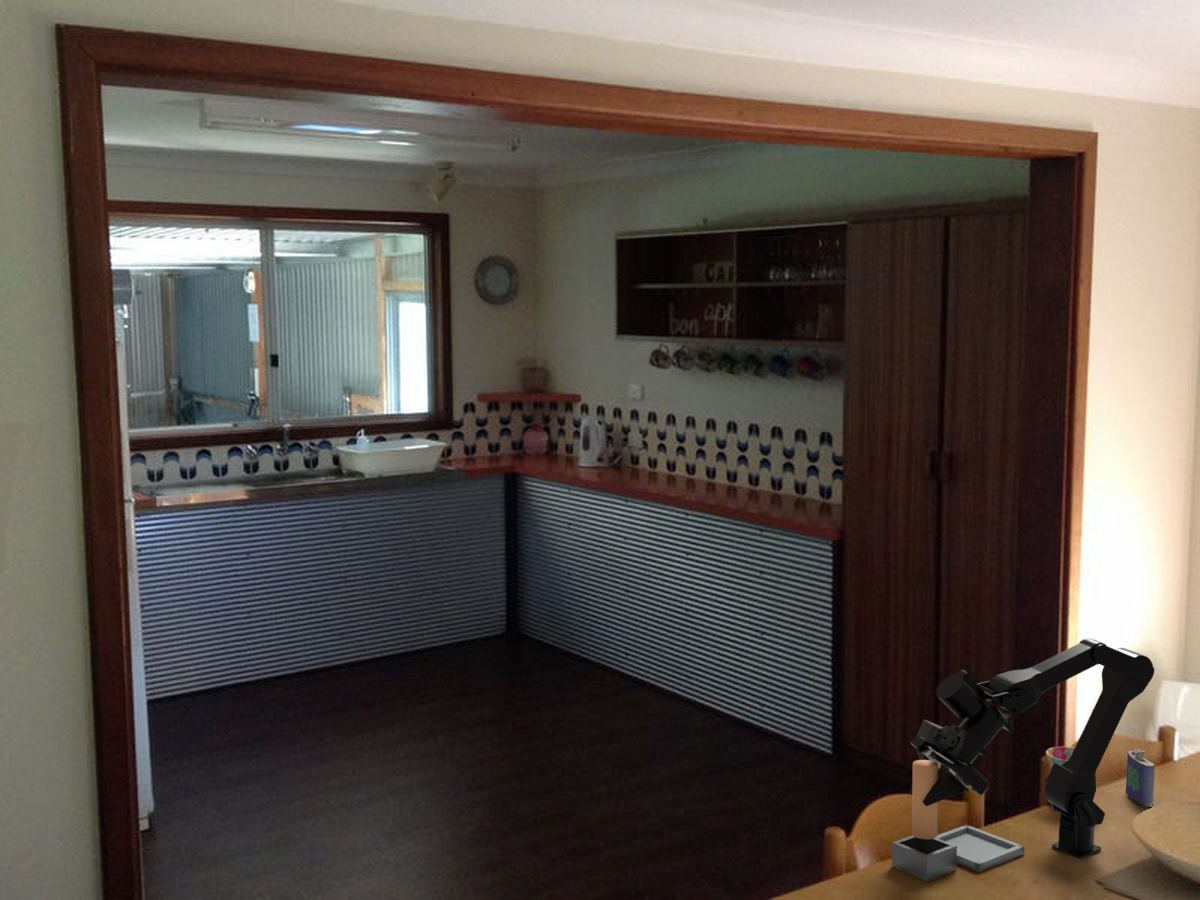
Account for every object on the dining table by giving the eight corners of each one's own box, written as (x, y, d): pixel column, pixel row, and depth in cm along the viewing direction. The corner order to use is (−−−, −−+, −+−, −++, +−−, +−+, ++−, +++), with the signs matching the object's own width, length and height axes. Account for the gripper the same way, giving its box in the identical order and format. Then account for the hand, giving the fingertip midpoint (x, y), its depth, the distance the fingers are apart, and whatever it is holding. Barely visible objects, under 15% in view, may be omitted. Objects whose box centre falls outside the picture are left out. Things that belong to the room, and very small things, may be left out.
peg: (922, 827, 234) (923, 758, 233) (942, 835, 231) (943, 764, 229) (906, 833, 232) (907, 763, 230) (925, 841, 228) (927, 769, 227)
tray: (966, 832, 248) (966, 824, 248) (1024, 854, 238) (1024, 846, 237) (921, 848, 240) (921, 841, 240) (979, 872, 230) (979, 864, 230)
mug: (1071, 816, 256) (1072, 764, 255) (1034, 801, 264) (1035, 751, 263) (1112, 805, 261) (1114, 754, 260) (1075, 790, 269) (1076, 741, 268)
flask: (1155, 808, 259) (1157, 756, 258) (1141, 809, 259) (1143, 757, 258) (1135, 792, 269) (1136, 742, 268) (1121, 792, 268) (1122, 742, 267)
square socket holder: (921, 855, 237) (921, 831, 237) (956, 870, 231) (956, 845, 230) (891, 866, 233) (892, 842, 232) (927, 881, 226) (927, 857, 226)
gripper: (920, 691, 239) (865, 754, 237) (974, 721, 221) (914, 789, 219) (958, 729, 242) (903, 792, 240) (1013, 761, 224) (955, 829, 222)
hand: (917, 799), depth 230 cm, fingers closed on peg, 4 cm apart
